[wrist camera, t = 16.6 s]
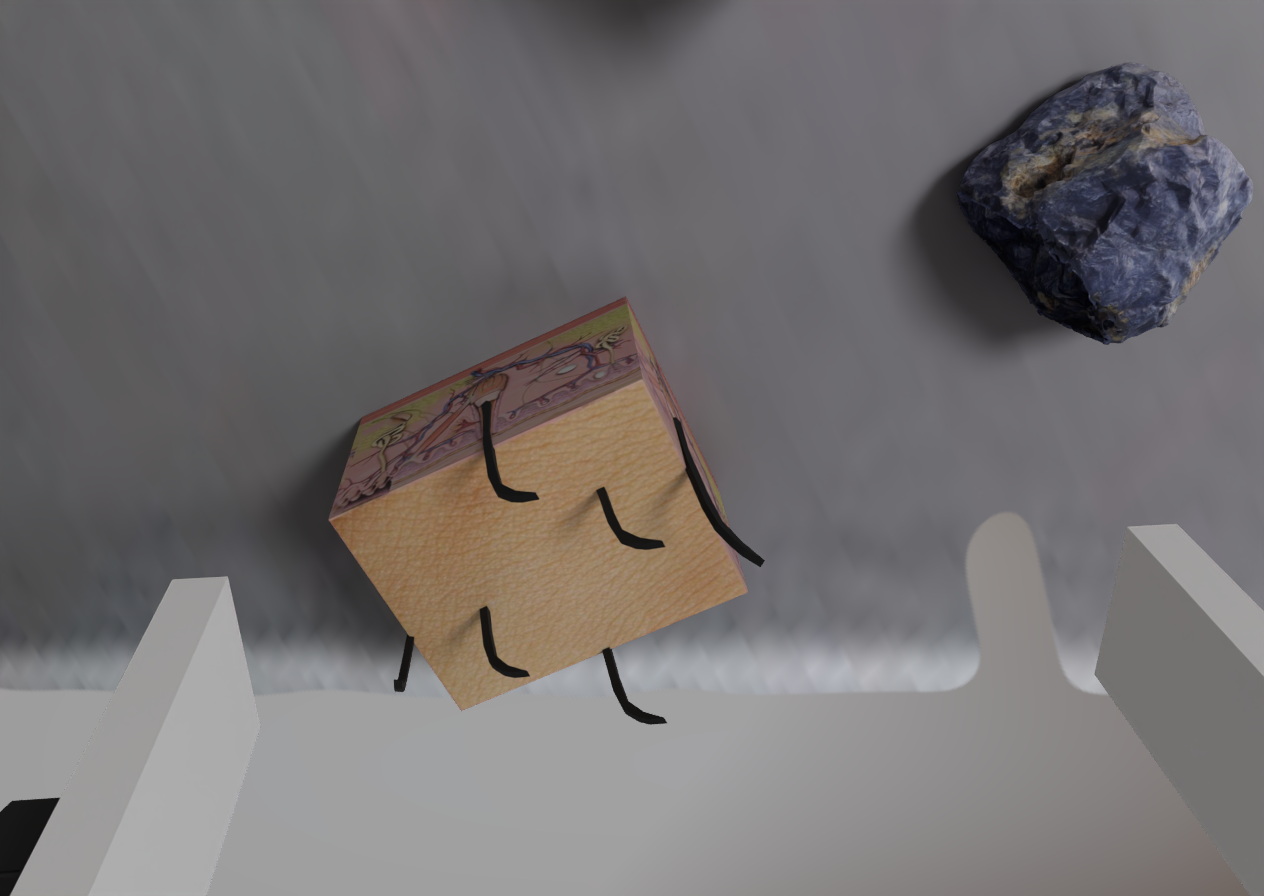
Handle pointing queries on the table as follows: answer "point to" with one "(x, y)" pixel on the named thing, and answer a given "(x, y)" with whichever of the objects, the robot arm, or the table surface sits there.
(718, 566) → the anatomical model
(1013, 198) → the rock
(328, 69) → the table surface
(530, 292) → the table surface
